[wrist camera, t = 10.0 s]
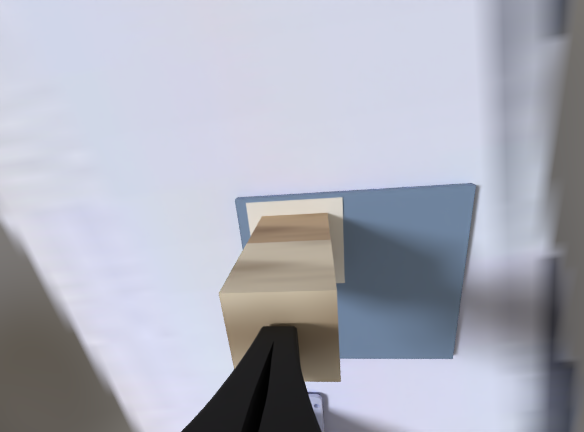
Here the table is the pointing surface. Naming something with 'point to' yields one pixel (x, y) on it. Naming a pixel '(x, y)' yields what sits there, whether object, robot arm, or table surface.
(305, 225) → the oak block
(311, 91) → the table surface
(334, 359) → the maple block
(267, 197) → the board
